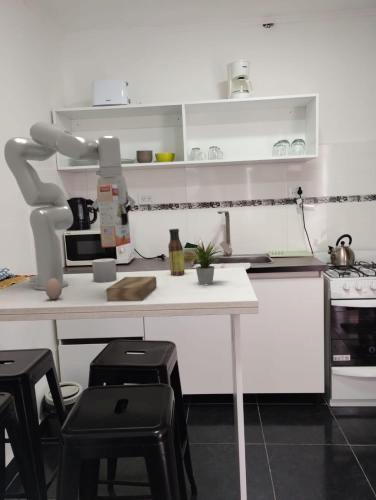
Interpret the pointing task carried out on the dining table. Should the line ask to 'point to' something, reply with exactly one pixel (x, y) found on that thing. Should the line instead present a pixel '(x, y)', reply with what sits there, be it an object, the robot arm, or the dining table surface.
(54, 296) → the egg
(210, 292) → the dining table surface
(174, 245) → the sauce bottle
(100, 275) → the grey mug
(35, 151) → the robot arm
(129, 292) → the riser
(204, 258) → the house plant
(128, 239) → the cracker box
